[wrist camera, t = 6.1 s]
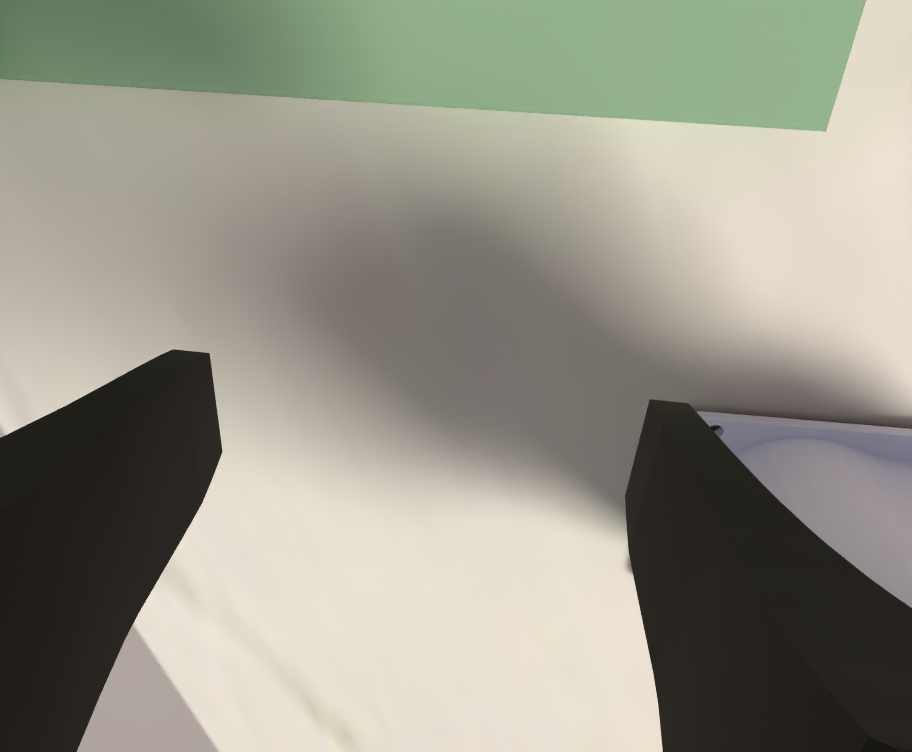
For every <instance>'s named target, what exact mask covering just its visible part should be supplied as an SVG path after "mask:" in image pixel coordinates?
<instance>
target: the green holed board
mask: <svg viewBox="0 0 912 752" xmlns="http://www.w3.org/2000/svg"><path fill="white" fill-rule="evenodd" d="M865 2H866V0H0V79H13V80H29V81H45V82H60V83H76V84H91V85H107V86H123V87H138V88H154V89H170V90H185V91H201V92H217V93H232V94H248V95H263V96H279V97H295V98H310V99H326V100H342V101H357V102H373V103H389V104H404V105H420V106H435V107H451V108H467V109H482V110H498V111H514V112H529V113H545V114H561V115H576V116H592V117H607V118H623V119H639V120H654V121H670V122H686V123H701V124H717V125H733V126H748V127H764V128H779V129H795V130H811V131H826V129H827V126H828V123H829V119H830V116H831V113H832V110H833V106H834V103H835V100H836V97H837V93H838V90H839V87H840V83H841V80H842V77H843V74H844V70H845V67H846V64H847V61H848V57H849V54H850V51H851V48H852V44H853V41H854V38H855V34H856V31H857V28H858V25H859V21H860V18H861V15H862V12H863V8H864V5H865Z"/></svg>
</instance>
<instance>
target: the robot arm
mask: <svg viewBox="0 0 912 752" xmlns="http://www.w3.org/2000/svg"><path fill="white" fill-rule="evenodd" d="M713 425H719V426H720V428H719V429H717V430H716V431H713V430H712V429H711V428H710V427H711V426H713ZM221 454H222V445H221V438H220V430H219V422H218V415H217V407H216V400H215V392H214V384H213V377H212V369H211V361H210V354H209V353H202V352H192V351H183V350H171V351H169V352H166V353H164V354H162V355H160V356H158V357H156V358H154V359H152V360H150V361H148V362H146V363H144V364H142V365H140V366H139V367H137V368H135V369H133V370H131V371H129V372H128V373H126V374H124V375H122V376H120V377H118V378H117V379H115V380H113V381H111V382H109V383H107V384H106V385H104V386H102V387H100V388H98V389H96V390H94V391H93V392H91V393H89V394H87V395H85V396H83V397H81V398H80V399H78V400H76V401H74V402H72V403H70V404H68V405H67V406H65V407H63V408H60V409H58V410H56V411H54V412H52V413H50V414H48V415H46V416H44V417H42V418H40V419H38V420H36V421H34V422H32V423H30V424H28V425H26V426H24V427H22V428H20V429H18V430H16V431H14V432H12V433H10V434H8V435H6V436H3V437H1V438H0V752H77V749H78V747H79V745H80V742H81V740H82V737H83V735H84V733H85V730H86V728H87V725H88V723H89V720H90V718H91V716H92V713H93V711H94V708H95V706H96V703H97V701H98V699H99V696H100V694H101V692H102V690H103V687H104V685H105V683H106V681H107V678H108V676H109V674H110V672H111V669H112V667H113V665H114V663H115V660H116V658H117V656H118V654H119V651H120V649H121V647H122V645H123V642H124V640H125V638H126V636H127V634H128V632H129V630H130V628H131V626H132V625H133V623H134V621H135V619H136V617H137V615H138V613H139V612H140V610H141V608H142V606H143V605H144V603H145V601H146V599H147V598H148V596H149V594H150V593H151V591H152V589H153V587H154V586H155V584H156V582H157V581H158V579H159V577H160V575H161V574H162V572H163V570H164V569H165V567H166V565H167V563H168V562H169V560H170V558H171V557H172V555H173V553H174V551H175V550H176V548H177V546H178V545H179V543H180V541H181V539H182V538H183V536H184V534H185V532H186V531H187V529H188V527H189V525H190V524H191V522H192V520H193V518H194V517H195V515H196V513H197V511H198V509H199V508H200V506H201V504H202V502H203V500H204V497H205V495H206V492H207V490H208V488H209V485H210V483H211V480H212V478H213V475H214V473H215V470H216V467H217V465H218V462H219V459H220V457H221ZM625 502H626V520H627V535H628V548H629V555H630V560H631V565H632V570H633V575H634V580H635V585H636V590H637V595H638V600H639V605H640V610H641V615H642V620H643V625H644V629H645V634H646V639H647V644H648V649H649V654H650V659H651V663H652V668H653V673H654V679H655V686H656V692H657V698H658V705H659V716H660V726H661V736H662V746H663V752H912V429H908V428H896V427H884V426H872V425H860V424H848V423H836V422H824V421H812V420H800V419H788V418H776V417H764V416H752V415H740V414H728V413H716V412H704V411H695V410H694V409H693V408H692V407H691V406H690V405H689V404H688V403H679V402H669V401H660V400H650V401H649V405H648V409H647V412H646V416H645V420H644V424H643V428H642V432H641V436H640V440H639V444H638V448H637V452H636V456H635V460H634V463H633V467H632V471H631V475H630V479H629V483H628V487H627V491H626V495H625Z"/></svg>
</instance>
